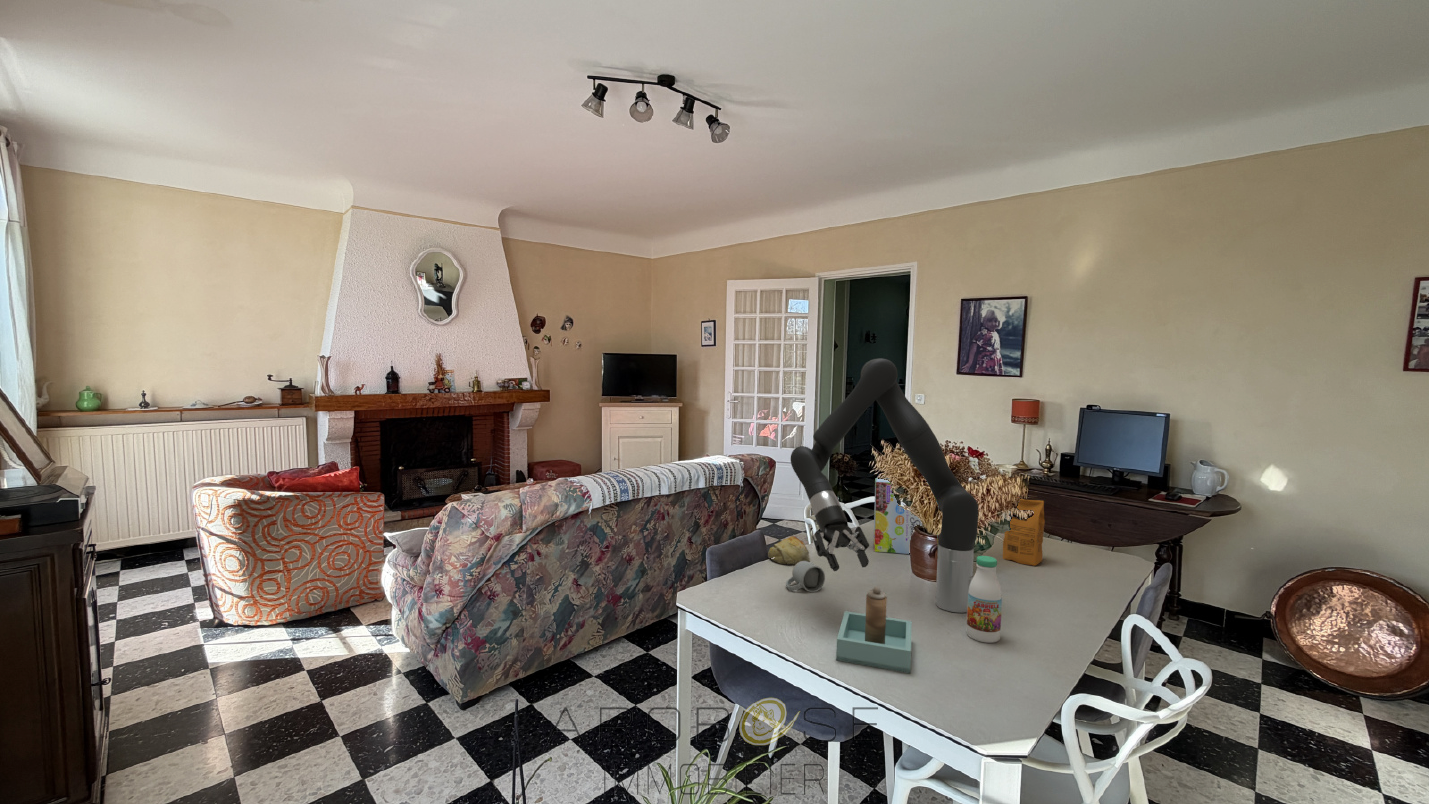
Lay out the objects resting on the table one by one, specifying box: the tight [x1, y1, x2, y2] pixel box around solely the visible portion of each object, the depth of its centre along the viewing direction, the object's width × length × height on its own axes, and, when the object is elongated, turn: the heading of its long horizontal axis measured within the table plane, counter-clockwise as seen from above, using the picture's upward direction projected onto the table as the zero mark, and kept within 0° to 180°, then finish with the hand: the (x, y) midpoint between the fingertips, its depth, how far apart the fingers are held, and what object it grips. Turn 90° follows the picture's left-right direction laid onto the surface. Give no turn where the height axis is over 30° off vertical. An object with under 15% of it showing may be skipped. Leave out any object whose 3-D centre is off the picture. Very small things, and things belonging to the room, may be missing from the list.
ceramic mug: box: [785, 561, 826, 593], centre depth 177 cm, size 11×8×8 cm
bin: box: [835, 610, 913, 674], centre depth 139 cm, size 16×16×5 cm
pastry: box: [767, 535, 811, 566], centre depth 201 cm, size 14×12×8 cm
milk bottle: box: [965, 555, 1003, 644], centre depth 147 cm, size 8×8×20 cm
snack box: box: [873, 477, 922, 555], centre depth 212 cm, size 22×9×26 cm, turn 77°
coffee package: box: [1002, 498, 1046, 566], centre depth 205 cm, size 10×12×22 cm
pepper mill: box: [865, 586, 888, 644], centre depth 139 cm, size 5×5×14 cm
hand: (851, 567), depth 148 cm, fingers open, 8 cm apart
